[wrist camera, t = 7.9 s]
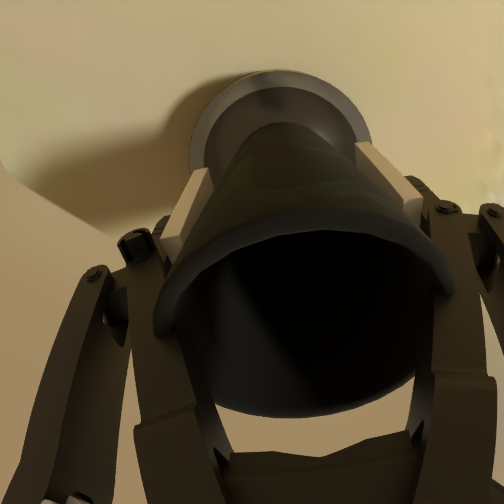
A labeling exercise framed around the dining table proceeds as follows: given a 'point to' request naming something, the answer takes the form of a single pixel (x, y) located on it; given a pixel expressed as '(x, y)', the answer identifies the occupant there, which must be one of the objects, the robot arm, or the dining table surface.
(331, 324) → the cup
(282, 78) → the grey metal bowl
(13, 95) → the dining table surface
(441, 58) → the dining table surface
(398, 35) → the dining table surface
